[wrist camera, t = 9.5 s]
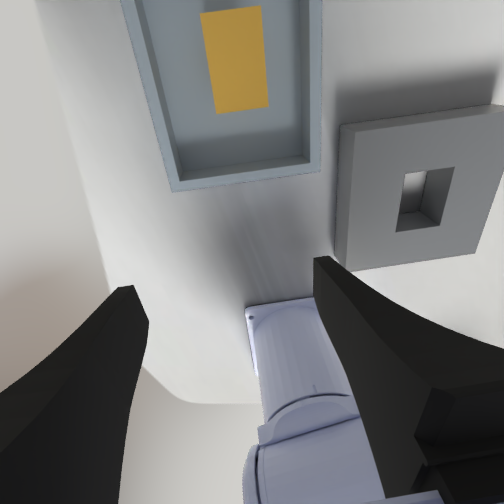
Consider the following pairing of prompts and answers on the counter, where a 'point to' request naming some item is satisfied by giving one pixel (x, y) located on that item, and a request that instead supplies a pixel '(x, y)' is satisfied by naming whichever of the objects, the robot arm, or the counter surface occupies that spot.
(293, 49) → the parts tray
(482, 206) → the socket block
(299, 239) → the counter surface
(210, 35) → the block
